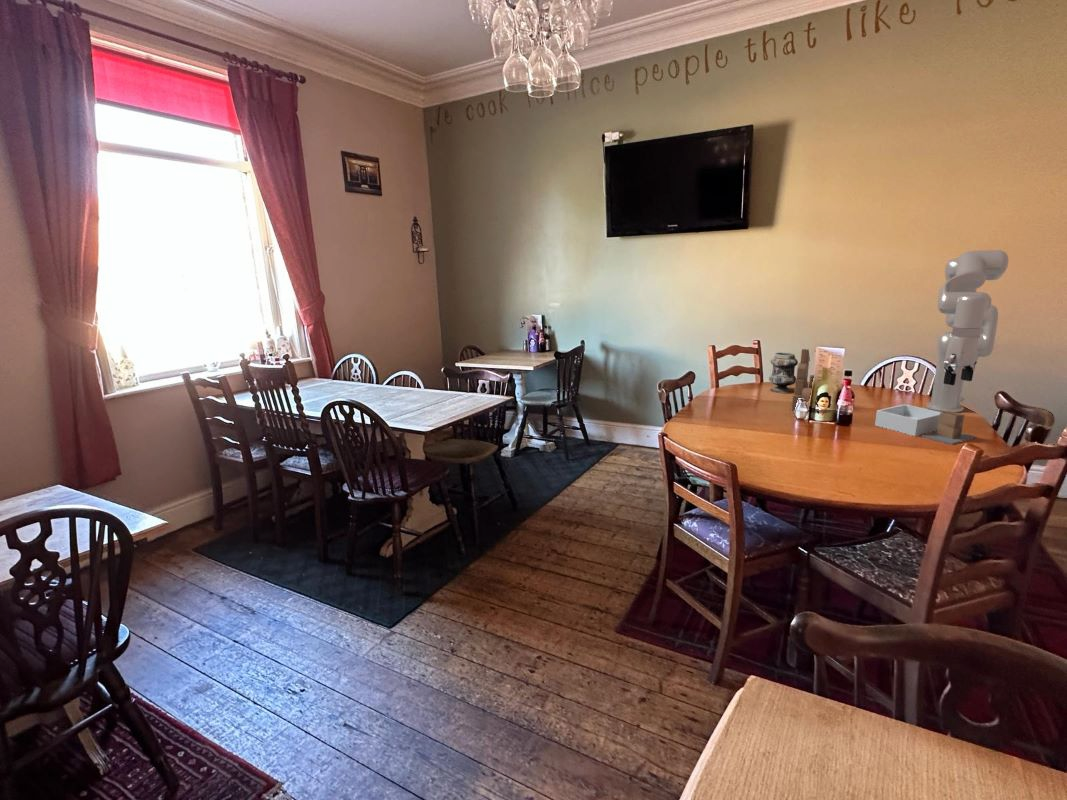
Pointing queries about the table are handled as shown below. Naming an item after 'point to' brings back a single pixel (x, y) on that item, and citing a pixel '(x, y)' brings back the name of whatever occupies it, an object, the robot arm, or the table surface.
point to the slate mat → (947, 440)
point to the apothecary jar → (783, 372)
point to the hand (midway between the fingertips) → (957, 382)
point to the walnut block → (950, 424)
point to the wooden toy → (802, 379)
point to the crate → (908, 419)
